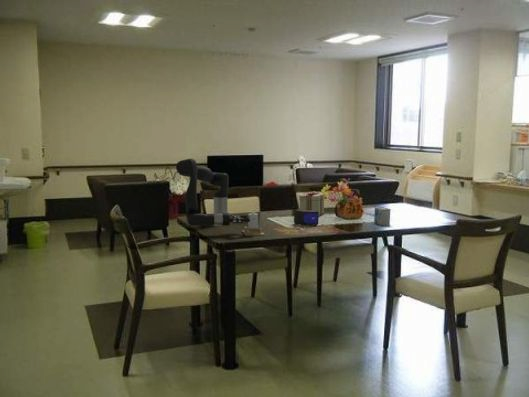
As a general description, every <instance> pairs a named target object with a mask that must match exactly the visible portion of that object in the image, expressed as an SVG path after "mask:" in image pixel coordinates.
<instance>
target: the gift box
mask: <svg viewBox="0 0 529 397" xmlns="http://www.w3.org/2000/svg"><path fill="white" fill-rule="evenodd" d="M325 196H326V195H325V194H324V193H319V192H317V191H315V190H313V191H308V192H306V193H302V194H300V195H298V198H299V210H307V211H318V212H319V217H320V216H322V215H324V214H325V198H326V197H325Z"/></svg>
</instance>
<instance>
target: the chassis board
mask: <svg viewBox="0 0 529 397" xmlns="http://www.w3.org/2000/svg"><path fill="white" fill-rule="evenodd" d="M241 233H243V234H244V235H245V237H249V236H250V237H252V236H254V237H256V236H265V233H264V232H263V231H262V228H261V226H260V225H258V229H248V226H244V230H241Z"/></svg>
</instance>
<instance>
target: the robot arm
mask: <svg viewBox="0 0 529 397" xmlns="http://www.w3.org/2000/svg"><path fill="white" fill-rule="evenodd" d="M175 168H176V172H177V173H178V174H179V175H180V176H182V177H189V183H188V186H187V189H186V190H185V191H186V192H185V194H184V195H185V196H184V203H185V208H186V222H187V225H188V226H190V227H197V226H198V227H199V226H208V227H209V226H210V227H212V226H214V227H223V226H224V227H225V226H227V227H229V226H230V224H231V223H232V224H244V223H248V222H250V219H249V218H248V215H239V214H235V215H234V214H230V213H229V212H228V198H229V197H228V194H229V182H230V178H229V174H228V173H226V172H213V171H212V170H211V168H209V167H206V166H204V165H198V164H197V161H196V160H195V159H194V158H186V159H181V160H180V161H178V162H177V163H176V167H175ZM198 181H201V182H204V183H208V184H210V185H212V186H213V187H217V188H219V187H220V188H219V190H218V191H215V192H213V213H205V214H203V213H199V211H198V208H199V202H198V193H197V192H198V190H197V189H198Z"/></svg>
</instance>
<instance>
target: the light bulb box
mask: <svg viewBox="0 0 529 397" xmlns="http://www.w3.org/2000/svg"><path fill="white" fill-rule="evenodd" d="M373 223H375V224H377V225H380V226H390V225H391V224H390V223H391V208H388V207H385V206H375V207H374V220H373Z"/></svg>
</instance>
